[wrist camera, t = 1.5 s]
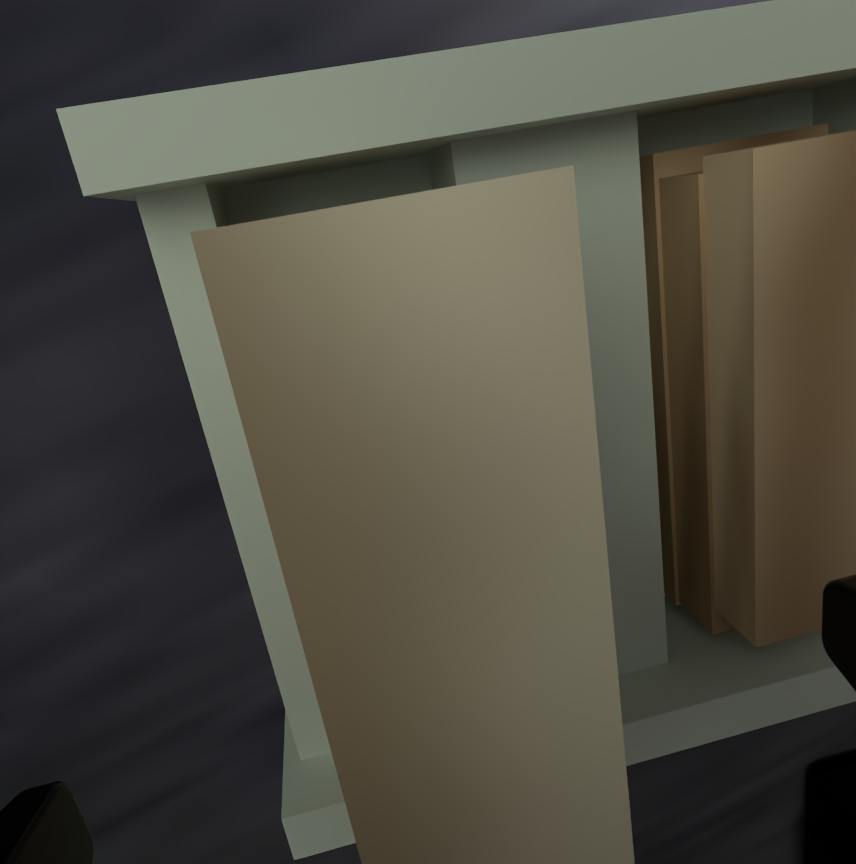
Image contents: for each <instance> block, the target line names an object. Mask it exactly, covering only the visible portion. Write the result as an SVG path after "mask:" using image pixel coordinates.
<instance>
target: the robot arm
mask: <svg viewBox="0 0 856 864" xmlns="http://www.w3.org/2000/svg"><path fill="white" fill-rule="evenodd" d="M821 636H822V642H823V646H824V649H825V651H826V653H827V655H828V657H829V658H830V660H831V661H832V662H833V664H834V665H835V666H836V667H837V669H838V670H839V671H840V672H841V674H842V675H843V676H844V677H845V679H846V680H847V681H848V683H849V684H850V685H851V686H852V688H853V689H854V690H855V691H856V574H855V575H851V576H847V577H843V578H839V579H835V580H832V581H830V582H828V583H827V584H826V585H825V587H824V589H823V598H822V633H821ZM93 857H94V847H93V840H92V836H91V833H90V830H89V828H88V826H87V823H86V821H85V819H84V817H83V814H82V812H81V810H80V808H79V806H78V803H77V801H76V799H75V797H74V794H73V792H72V790H71V789H70V787H69V786H68V785H67V784H66V783H65V782H61V781H56V782H52V783H48V784H44V785H40V786H37V787H33V788H29V789H26V790H24V791H22V792H21V793H19V794H18V795H17V796H16V797H15V798H14V799H13V800H12V801H11V802H10V803H8V804H7V805H6V806H5V807H4V808H3V809H2V810H1V811H0V864H93ZM804 864H856V753H853V754H849V755H846V756H842V757H839V758H836V759H832V760H829V761H825V762H822V763H819V764H817V765H815V766H814V767H812V768H811V769H810V771H809V772H808V775H807V787H806V823H805V860H804Z"/></svg>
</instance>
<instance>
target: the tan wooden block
mask: <svg viewBox="0 0 856 864" xmlns="http://www.w3.org/2000/svg"><path fill="white" fill-rule="evenodd" d="M190 235H191V238H192V242H193V246H194V250H195V253H196V257H197V261H198V264H199V268H200V272H201V275H202V279H203V283H204V286H205V290H206V294H207V297H208V301H209V305H210V308H211V312H212V316H213V319H214V323H215V327H216V330H217V334H218V338H219V341H220V345H221V349H222V352H223V356H224V360H225V363H226V367H227V371H228V374H229V378H230V382H231V385H232V389H233V393H234V396H235V400H236V404H237V407H238V411H239V415H240V418H241V422H242V426H243V430H244V433H245V437H246V441H247V444H248V448H249V452H250V455H251V459H252V463H253V466H254V470H255V474H256V477H257V481H258V485H259V488H260V492H261V496H262V499H263V503H264V507H265V510H266V514H267V518H268V521H269V525H270V529H271V532H272V536H273V540H274V543H275V547H276V551H277V554H278V558H279V562H280V565H281V569H282V573H283V576H284V580H285V584H286V587H287V591H288V595H289V598H290V602H291V606H292V610H293V613H294V617H295V621H296V624H297V628H298V632H299V635H300V639H301V643H302V646H303V650H304V654H305V657H306V661H307V665H308V668H309V672H310V676H311V679H312V683H313V687H314V690H315V694H316V698H317V701H318V705H319V709H320V712H321V716H322V720H323V723H324V727H325V731H326V734H327V738H328V742H329V745H330V749H331V753H332V756H333V760H334V764H335V767H336V771H337V775H338V779H339V782H340V786H341V790H342V793H343V797H344V801H345V804H346V808H347V812H348V815H349V819H350V823H351V826H352V830H353V834H354V837H355V841H356V845H357V848H358V852H359V856H360V859H361V863H362V864H635V862H634V850H633V839H632V828H631V816H630V805H629V793H628V782H627V770H626V759H625V748H624V736H623V725H622V713H621V702H620V691H619V679H618V668H617V656H616V645H615V633H614V622H613V611H612V599H611V588H610V576H609V565H608V554H607V542H606V531H605V519H604V508H603V496H602V485H601V474H600V462H599V451H598V439H597V428H596V417H595V405H594V394H593V382H592V371H591V359H590V348H589V337H588V325H587V314H586V302H585V291H584V279H583V268H582V257H581V245H580V234H579V222H578V211H577V200H576V188H575V177H574V165H571V166H566V167H560V168H554V169H548V170H543V171H537V172H531V173H526V174H520V175H514V176H508V177H503V178H497V179H491V180H486V181H480V182H474V183H468V184H463V185H457V186H451V187H446V188H440V189H434V190H429V191H423V192H417V193H411V194H406V195H400V196H394V197H389V198H383V199H377V200H371V201H366V202H360V203H354V204H349V205H343V206H337V207H331V208H326V209H320V210H314V211H309V212H303V213H297V214H292V215H286V216H280V217H274V218H269V219H263V220H257V221H252V222H246V223H240V224H234V225H229V226H223V227H217V228H212V229H206V230H200V231H194V232H190Z"/></svg>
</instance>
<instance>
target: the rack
mask: <svg viewBox="0 0 856 864" xmlns="http://www.w3.org/2000/svg"><path fill="white" fill-rule="evenodd" d="M56 110H57V113H58V117H59V120H60V123H61V126H62V129H63V132H64V136H65V139H66V142H67V145H68V148H69V151H70V154H71V158H72V161H73V164H74V167H75V170H76V173H77V177H78V180H79V183H80V186H81V189H82V192H83V195H84V196H88V197H99V198H109V199H120V200H130V201H137V205H138V208H139V212H140V215H141V218H142V222H143V225H144V229H145V232H146V235H147V239H148V242H149V246H150V249H151V252H152V256H153V259H154V263H155V266H156V270H157V273H158V276H159V280H160V283H161V287H162V290H163V293H164V297H165V300H166V304H167V307H168V310H169V314H170V317H171V321H172V324H173V327H174V331H175V334H176V338H177V341H178V345H179V348H180V351H181V355H182V358H183V362H184V365H185V368H186V372H187V375H188V379H189V382H190V385H191V389H192V392H193V396H194V399H195V403H196V406H197V409H198V413H199V416H200V420H201V423H202V426H203V430H204V433H205V437H206V440H207V443H208V447H209V450H210V454H211V457H212V461H213V464H214V467H215V471H216V474H217V478H218V481H219V484H220V488H221V491H222V495H223V498H224V501H225V505H226V508H227V512H228V515H229V519H230V522H231V525H232V529H233V532H234V536H235V539H236V542H237V546H238V549H239V553H240V556H241V559H242V563H243V566H244V570H245V573H246V577H247V580H248V583H249V587H250V590H251V594H252V597H253V600H254V604H255V607H256V611H257V614H258V617H259V621H260V624H261V628H262V631H263V634H264V638H265V641H266V645H267V648H268V652H269V655H270V658H271V662H272V665H273V669H274V672H275V675H276V679H277V682H278V686H279V689H280V692H281V696H282V699H283V703H284V706H285V734H284V760H283V786H282V813H281V820H282V823H283V826H284V829H285V833H286V836H287V839H288V842H289V845H290V848H291V851H292V855H293V858H294V860H297V859H300V858H304V857H307V856H311V855H314V854H318V853H321V852H325V851H328V850H332V849H335V848H339V847H342V846H346V845H350V844H353V843H356V841H355V837H354V834H353V830H352V826H351V823H350V819H349V815H348V812H347V808H346V804H345V801H344V797H343V793H342V790H341V786H340V782H339V779H338V775H337V771H336V767H335V764H334V760H333V756H332V753H331V749H330V745H329V742H328V738H327V734H326V731H325V727H324V723H323V720H322V716H321V712H320V709H319V705H318V701H317V698H316V694H315V690H314V687H313V683H312V679H311V676H310V672H309V668H308V665H307V661H306V657H305V654H304V650H303V646H302V643H301V639H300V635H299V632H298V628H297V624H296V621H295V617H294V613H293V610H292V606H291V602H290V598H289V595H288V591H287V587H286V584H285V580H284V576H283V573H282V569H281V565H280V562H279V558H278V554H277V551H276V547H275V543H274V540H273V536H272V532H271V529H270V525H269V521H268V518H267V514H266V510H265V507H264V503H263V499H262V496H261V492H260V488H259V485H258V481H257V477H256V474H255V470H254V466H253V463H252V459H251V455H250V452H249V448H248V444H247V441H246V437H245V433H244V430H243V426H242V422H241V418H240V415H239V411H238V407H237V404H236V400H235V396H234V393H233V389H232V385H231V382H230V378H229V374H228V371H227V367H226V363H225V360H224V356H223V352H222V349H221V345H220V341H219V338H218V334H217V330H216V327H215V323H214V319H213V316H212V312H211V308H210V305H209V301H208V297H207V294H206V290H205V286H204V283H203V279H202V275H201V272H200V268H199V264H198V261H197V257H196V253H195V250H194V246H193V242H192V238H191V235H190V232H194V231H200V230H206V229H212V228H217V227H223V226H229V225H234V224H240V223H246V222H252V221H257V220H263V219H269V218H274V217H280V216H286V215H292V214H297V213H303V212H309V211H314V210H320V209H326V208H331V207H337V206H343V205H349V204H354V203H360V202H366V201H371V200H377V199H383V198H389V197H394V196H400V195H406V194H411V193H417V192H423V191H429V190H434V189H440V188H446V187H451V186H457V185H463V184H468V183H474V182H480V181H486V180H491V179H497V178H503V177H508V176H514V175H520V174H526V173H531V172H537V171H543V170H548V169H554V168H560V167H566V166H571V165H574V177H575V188H576V200H577V211H578V222H579V234H580V245H581V257H582V268H583V279H584V291H585V302H586V314H587V325H588V337H589V348H590V359H591V371H592V382H593V394H594V405H595V417H596V428H597V439H598V451H599V462H600V474H601V485H602V496H603V508H604V519H605V531H606V542H607V554H608V565H609V576H610V588H611V599H612V611H613V622H614V633H615V645H616V656H617V668H618V679H619V691H620V702H621V713H622V725H623V736H624V748H625V759H626V766H629V765H632V764H636V763H639V762H643V761H646V760H650V759H653V758H657V757H660V756H664V755H667V754H671V753H674V752H678V751H681V750H685V749H689V748H692V747H696V746H699V745H703V744H706V743H710V742H713V741H717V740H720V739H724V738H727V737H731V736H734V735H738V734H742V733H745V732H749V731H752V730H756V729H759V728H763V727H766V726H770V725H773V724H777V723H780V722H784V721H787V720H791V719H795V718H798V717H802V716H805V715H809V714H812V713H816V712H819V711H823V710H826V709H830V708H833V707H837V706H840V705H844V704H847V703H851V702H855V701H856V691H855V690H854V689H853V688H852V686H851V685H850V684H849V683H848V681H847V680H846V679H845V677H844V676H843V675H842V674H841V672H840V671H839V670H838V669H837V667H836V666H835V665H834V664H833V662H832V661H831V660H830V658H829V657H828V655H827V653H826V651H825V649H824V646H823V642H822V636H821V633H822V630H819V631H815V632H812V633H808V634H804V635H800V636H797V637H793V638H789V639H786V640H782V641H778V642H774V643H771V644H767V645H763V646H759V647H754V646H753V645H752V644H751V643H750V642H749V641H748V640H747V639H746V638H745V637H744V636H743V635H742V634H741V633H740V632H739V631H738V630H737V629H733V630H729V631H726V632H722V633H718V634H714V635H712V634H711V633H710V632H709V631H708V630H707V629H706V628H705V627H704V626H703V625H702V624H701V623H700V622H699V621H698V620H697V619H696V618H695V617H694V616H693V615H692V614H691V613H690V612H689V611H688V610H687V609H686V608H685V607H684V606H683V605H682V604H680V605H675V604H674V603H673V602H672V601H671V600H670V599H669V598H668V597H667V596H666V595H665V594H664V581H663V563H662V546H661V528H660V511H659V493H658V476H657V458H656V440H655V423H654V405H653V388H652V370H651V353H650V335H649V318H648V300H647V283H646V265H645V248H644V230H643V213H642V195H641V178H640V160H639V156H644V155H649V154H655V153H661V152H666V151H672V150H678V149H684V148H689V147H695V146H701V145H706V144H712V143H718V142H723V141H729V140H735V139H740V138H746V137H752V136H758V135H763V134H769V133H775V132H780V131H786V130H792V129H797V128H803V127H809V126H814V125H820V124H826V123H829V124H828V134H832V133H838V132H843V131H849V130H854V129H856V0H772V1H766V2H759V3H753V4H746V5H739V6H733V7H726V8H720V9H713V10H706V11H700V12H693V13H687V14H680V15H673V16H667V17H660V18H654V19H647V20H640V21H634V22H627V23H621V24H614V25H607V26H601V27H594V28H588V29H581V30H574V31H568V32H561V33H555V34H548V35H541V36H535V37H528V38H522V39H515V40H509V41H502V42H495V43H489V44H482V45H476V46H469V47H462V48H456V49H449V50H443V51H436V52H429V53H423V54H416V55H410V56H403V57H396V58H390V59H383V60H377V61H370V62H363V63H357V64H350V65H344V66H337V67H330V68H324V69H317V70H311V71H304V72H297V73H291V74H284V75H278V76H271V77H264V78H258V79H251V80H245V81H238V82H232V83H225V84H218V85H212V86H205V87H199V88H192V89H185V90H179V91H172V92H166V93H159V94H152V95H146V96H139V97H133V98H126V99H119V100H113V101H106V102H100V103H93V104H86V105H80V106H73V107H67V108H60V109H56Z"/></svg>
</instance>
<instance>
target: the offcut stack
mask: <svg viewBox="0 0 856 864" xmlns="http://www.w3.org/2000/svg"><path fill="white" fill-rule="evenodd" d="M828 124H829V123H826V124H820V125H814V126H809V127H803V128H797V129H792V130H786V131H780V132H775V133H769V134H763V135H758V136H752V137H746V138H740V139H735V140H729V141H723V142H718V143H712V144H706V145H701V146H695V147H689V148H684V149H678V150H672V151H666V152H661V153H655V154H649V155H644V156H639V160H640V178H641V195H642V213H643V230H644V248H645V265H646V283H647V300H648V318H649V335H650V353H651V370H652V388H653V405H654V423H655V440H656V458H657V476H658V493H659V511H660V528H661V546H662V563H663V581H664V594H665V595H666V596H667V597H668V598H669V599H670V600H671V601H672V602H673V603H674V604H675V605H680V604H682V605H683V606H684V607H685V608H686V609H687V610H688V611H689V612H690V613H691V614H692V615H693V616H694V617H695V618H696V619H697V620H698V621H699V622H700V623H701V624H702V625H703V626H704V627H705V628H706V629H707V630H708V631H709V632H710V633H711V634H712V635H714V634H718V633H722V632H726V631H729V630H733V629H737V630H738V631H739V632H740V633H741V634H742V635H743V636H744V637H745V638H746V639H747V640H748V641H749V642H750V643H751V644H752V645H753V646H754V647H759V646H763V645H767V644H771V643H774V642H778V641H782V640H786V639H789V638H793V637H797V636H800V635H804V634H808V633H812V632H815V631H819V630H822V598H823V589H824V587H825V585H826V584H827V583H828V582H830V581H832V580H835V579H839V578H843V577H847V576H851V575H855V574H856V129H854V130H849V131H843V132H838V133H832V134H828Z"/></svg>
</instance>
